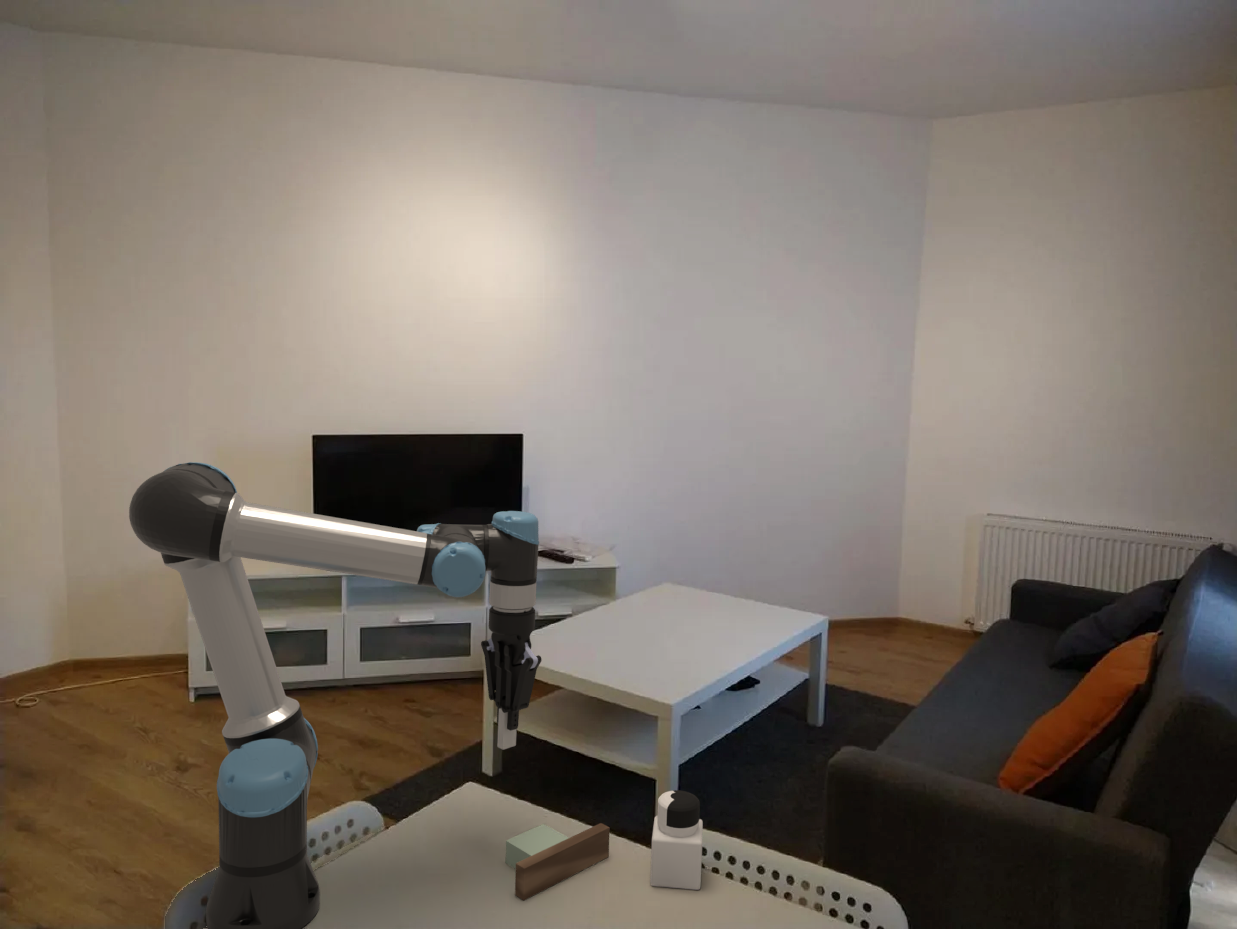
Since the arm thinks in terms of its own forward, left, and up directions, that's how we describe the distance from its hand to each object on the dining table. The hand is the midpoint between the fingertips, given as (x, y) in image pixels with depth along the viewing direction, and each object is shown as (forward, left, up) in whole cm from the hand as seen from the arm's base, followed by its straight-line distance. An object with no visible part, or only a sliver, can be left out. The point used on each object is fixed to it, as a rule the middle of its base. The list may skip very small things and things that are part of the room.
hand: (506, 746), depth 149 cm
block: (+9, 0, -17) cm, 19 cm away
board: (+14, 0, -17) cm, 22 cm away
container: (+26, +13, -17) cm, 34 cm away
